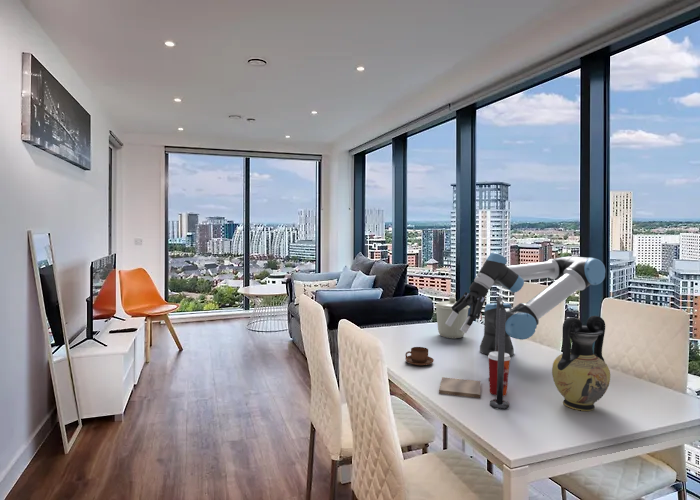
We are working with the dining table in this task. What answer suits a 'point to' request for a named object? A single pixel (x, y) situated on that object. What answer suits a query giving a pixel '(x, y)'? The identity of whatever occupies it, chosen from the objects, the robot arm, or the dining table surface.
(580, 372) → the amphora
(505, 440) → the dining table surface
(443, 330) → the canister
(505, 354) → the paper cup
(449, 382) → the walnut board
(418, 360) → the cup and saucer
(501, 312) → the frame
